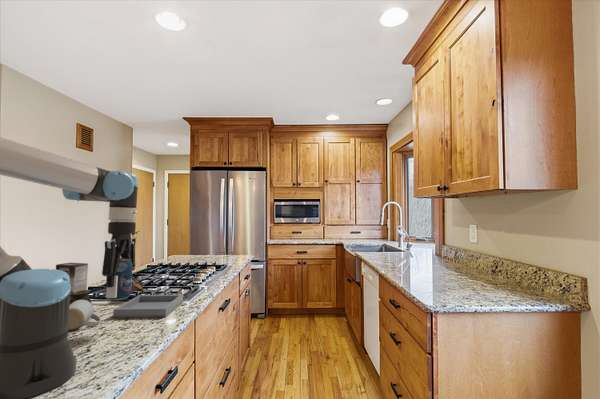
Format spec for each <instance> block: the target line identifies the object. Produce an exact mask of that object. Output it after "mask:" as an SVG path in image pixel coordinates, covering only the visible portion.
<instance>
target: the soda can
mask: <svg viewBox="0 0 600 399" xmlns="http://www.w3.org/2000/svg"><path fill="white" fill-rule="evenodd" d="M132 269H133V264H132V262H131V259H130V258H121V257H120V261H119V265H118V269H117V273H116V276H118V284H117V297H116V298H106V299H107V300H108V301H121V300H122V301H123V300H126V299H128V298H129V297H130V295H131V294H132V292H131V290H132V282H133V271H132ZM106 290H107V277H106V281H105V291H106Z"/></svg>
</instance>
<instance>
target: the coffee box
mask: <svg viewBox="0 0 600 399" xmlns="http://www.w3.org/2000/svg"><path fill="white" fill-rule="evenodd" d="M88 268H89V263H88V262H87V263H85V262H66V263H58V264H55V269H56V270H61V271H64V272H66V273H67V274H68V275H69V277H70V284H71V291H73V292H75V291H80V290H88V288H87V287H88V271H89V269H88ZM71 293H72V292H70V294H71Z"/></svg>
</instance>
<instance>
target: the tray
mask: <svg viewBox="0 0 600 399" xmlns="http://www.w3.org/2000/svg"><path fill="white" fill-rule="evenodd" d="M183 302H184V294H145V295H141V294H139V295H138V294H137V295H136V296H135V297H133V298H131V299H129V300H128V301H126V302H124V303H122V304H121V305H119V306H118V307H115V308H113V311H112V312H113V313H112V314H113V315H112V318H113V319H135V318H136V319H139V318H141V319H142V318H144V319H145V318H148V319H151V318H153V319H155V318H167V317H168V316H169V315H171V313H173V311H175V310H176V309H177V308H178V307H179V306H180V305H181V304H183Z"/></svg>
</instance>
